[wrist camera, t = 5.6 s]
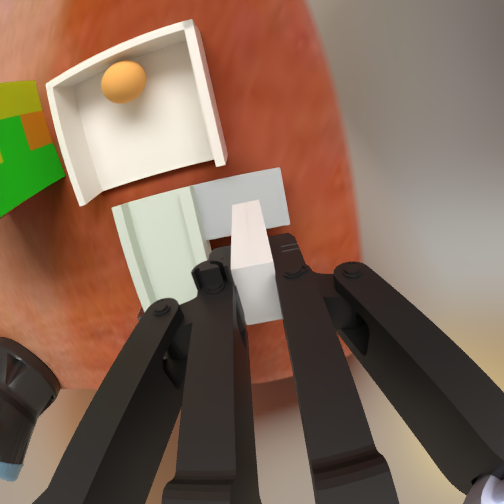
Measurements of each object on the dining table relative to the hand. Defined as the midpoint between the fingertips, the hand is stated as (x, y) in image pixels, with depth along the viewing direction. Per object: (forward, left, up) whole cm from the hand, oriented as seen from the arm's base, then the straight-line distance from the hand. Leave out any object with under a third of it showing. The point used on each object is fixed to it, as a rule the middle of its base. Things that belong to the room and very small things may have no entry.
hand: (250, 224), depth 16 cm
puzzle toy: (-20, +10, -7) cm, 24 cm away
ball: (-6, +11, -4) cm, 13 cm away
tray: (-6, +8, -6) cm, 12 cm away
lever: (-3, -8, -3) cm, 9 cm away
